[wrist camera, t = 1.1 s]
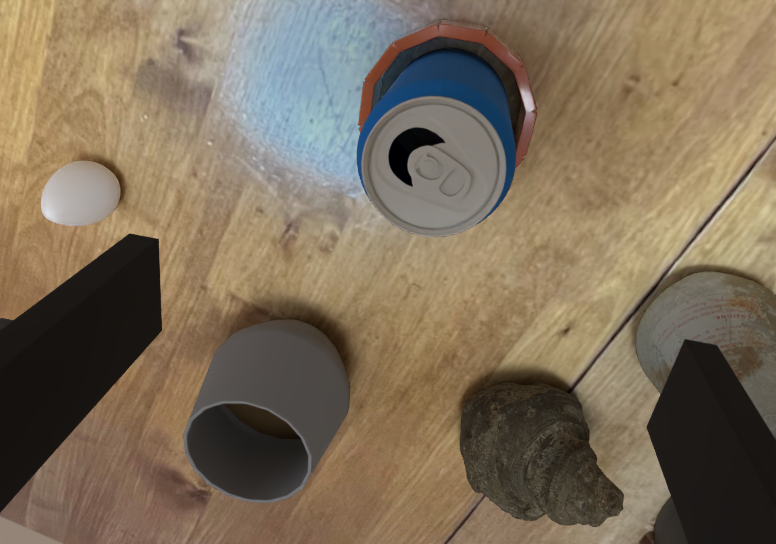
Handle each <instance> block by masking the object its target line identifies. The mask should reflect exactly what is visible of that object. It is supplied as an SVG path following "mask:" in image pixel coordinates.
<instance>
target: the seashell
mask: <svg viewBox="0 0 776 544" xmlns="http://www.w3.org/2000/svg"><path fill="white" fill-rule="evenodd" d="M460 451H461V454H462V456H463V459H464V464H465V468H466V474H467V479H468V481H469V483H470V485H471V487H472V489H473V490H474V491H475V492H477V493H483V494H484V495H485V496H487V497H488V498H489V500H490V501H492V502H493V503H495V504H496V505H497V506H499V507H500V508H501V510H503V511H505V512H508V513H510V514H511V515H512V517H514V518H516V519H523V520H525V521H526V520H530V521H534V520H537V519H539V518H540V517H542V516H543V515H545V514H548V516H549V518H550V519H551V520H552V521H554V522H556V523H558V524H560V525H575V524H577V523H580V524H582V525H586V524H589V525H590V526H592V527H597V526H600V525H601V524H602V523H603V522H604V521H605V519H607V518H608V517H613V516H618V515H619V514H620V512H621V511H622V510H623V499H624V495H623V493H622V491H621V490H620V489H619V488H618V487H617V486H616V485H614V484H613V483H612V482H611V481H610V480H609V479H608V478H607V477H606V476H605V474H604V473H603V472H602V471H601V470H600V468H599V467H598V466H597V464H596V462H597V457H596V455H595V453H594V451H593V450H592V448H591V447H590V444H589V429H588V426H587V424H586V422H585V420H584V417H583V413H582V406H581V403H580V402H579V401H578V400H577V399H576V398H575V397H573V396H572V395H570V394H569V393H567V392H565V391H563V390H560V389H557V388H554V387H552V386H550V385H548V384H543V383H540V382H536V383H534V384H533V385H531V386H528V385H518V384H516V383H513V382H507V383H500V384H498V385H496V386H493V387H490V388H487V389H482V390H480V391H478V392H476V393H475V394H474V395H473V396H472V397H471V398H470V399H468V400H467V401H466V402H465V406H464V409H463V412H462V417H461V435H460ZM397 458H398V457H397Z"/></svg>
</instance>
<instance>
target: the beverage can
mask: <svg viewBox="0 0 776 544" xmlns="http://www.w3.org/2000/svg"><path fill="white" fill-rule="evenodd" d="M357 166H358V173H359V176H360V180H361V183H362V185H363V188H364V190H365V192H366V194H367V196H368V197H369V199H370V201H371V202H372V203H373V205H374V206H375V207H376V209H377V210H378V211H379V212H380V213H381V214H382V215H383V216H384V217H385V218H386V219H387V220H388V221H389V222H391V223H392V224H393V225H395V226H397V227H398V228H400V229H402V230H405V231H407V232H409V233H412V234H416V235H420V236H426V237H444V236H450V235H454V234H457V233H460V232H463V231H465V230H467V229H469V228H471V227H473V226H475V225H476V224H478V223H480V222H481V221H483V220H484V219H485V218H487V217H488V216H489V215H490V214H491V213H492V212H493V211H494V210H495V209H496V208H497V207H498V206H499V204H500V203H501V202H502V200H503V199H504V198H505V196H506V194H507V192H508V190H509V188H510V186H511V183H512V180H513V177H514V172H515V166H516V147H515V141H514V136H513V130H512V124H511V119H510V113H509V107H508V101H507V96H506V91H505V88H504V85H503V83H502V81H501V79H500V77H499V76H498V74H497V73H496V71H495V70H494V69H493V68H492V67H491V65H489V64H488V63H487V62H486V61H485V60H483V59H482V58H480V57H479V56H477V55H475V54H473V53H471V52H468V51H464V50H460V49H447V48H446V49H438V50H434V51H431V52H428V53H426V54H423V55H422V56H420V57H418V58H416V59H415V60H414V61H412V62H411V63H410V64H409V65H408V66H407V67H406V68H405V69H404V70H403V71H402V73H401V74H400V75H399V77H398V78H397V79H396V80H395V82H394V83H393V84H392V85H391V87H390V88H389V89H388V91H387V92H386V93H385V94H384V96H383V97H382V98H381V100H380V101H379V102H378V103H377V105H376V106H375V107H374V109H373V110H372V111H371V113H370V114H369V116H368V117H367V119H366V121H365V123H364V125H363V127H362V130H361V132H360V136H359V140H358V146H357Z"/></svg>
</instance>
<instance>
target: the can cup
mask: <svg viewBox="0 0 776 544" xmlns="http://www.w3.org/2000/svg"><path fill="white" fill-rule="evenodd" d="M437 37H445V38H451V39H457V40H463V41H468V42H474V43H480V44H482V45H483V46H485V47H486V48H487V49H488V50H489V51H490V52H491V53H492V54H494V55H495V56H496V57H497V58H498V59H499V60H500V61H501V62H503V63H504V64H505V65H506V66H507V67H508V68H509V69H510V70H511V71H513V73H514V76H515V80H516V83H517V86H518V90H519V93H520V97H521V100H522V104H521V108H520V112H519V116H518V121H517V125H516V129H515V133H514V141H515V147H516V166H515V168H516V167H517V166H518V165H519V164H520V163H521V162H522V161H523V160H524V159H525V157H524V156H526V155H527V151H528V147H529V143H530V140H531V136H532V132H533V128H534V124H535V120H536V116H537V111H536V110H537V107H536V103H535V100H534V96H533V93H532V90H531V86H530V83H529V79H528V76H527V72H526V69H525V66H524V63H523V61H522V59H521V58H520V56H519V54H517V53H516V52H515V51H514V50H513V49H512V48H511V47H510V46H509V45H507V44H506V43H505V42H504V41H503V40H502V39H501V38H500V37H499V36H497V35H496V34H495V33H494V32H493V31H492V30H491V29H490V28H487V29H486V26H483V25H477V24H471V23H465V22H459V21H453V20H447V19H443V20H442V21H441V20H437V21H435V22H433V23H430V24H428V25H425V26H423V27H420V28H418V29H416V30H413V31H411V32H408V33H406V34H403V35H401V36H400V37H399V38H398V39H396V40H395V41H394V42H393V43H391V45H390V46H389V47H388V49H387V50H386V51H385V53H384V54H383V55H382V57H381V58H380V59H379V61H378V62H377V63H376V65H375V66H374V67H373V69H372V70H371V71H370V73H369V74H368V75H367V77H366V78H365V81H364V82H363V89H362V98H361V106H360V114H359V122H358V125H359V126H360V127H359V131H360V132H361V130H362V127H363V125H364V123H365V121H366V119H367V117H368V116H369V114H370V113H371V111H372V110H373V109H374V107H375V106H376V105H377V103H378V102H379V101H380V94H381V87H382V79H383V76H384V75H385V73H386V72H387V71H388V69H389V68H390V67H391V65H392V64H393V63H394V62H395V60H396V59H397V58H398V56H399V55H400V54H401V52H402V51H405V50H407V49H410V48H412V47H415V46H417V45H420V44H422V43H425V42H427V41H429V40H432V39H434V38H437Z"/></svg>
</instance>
